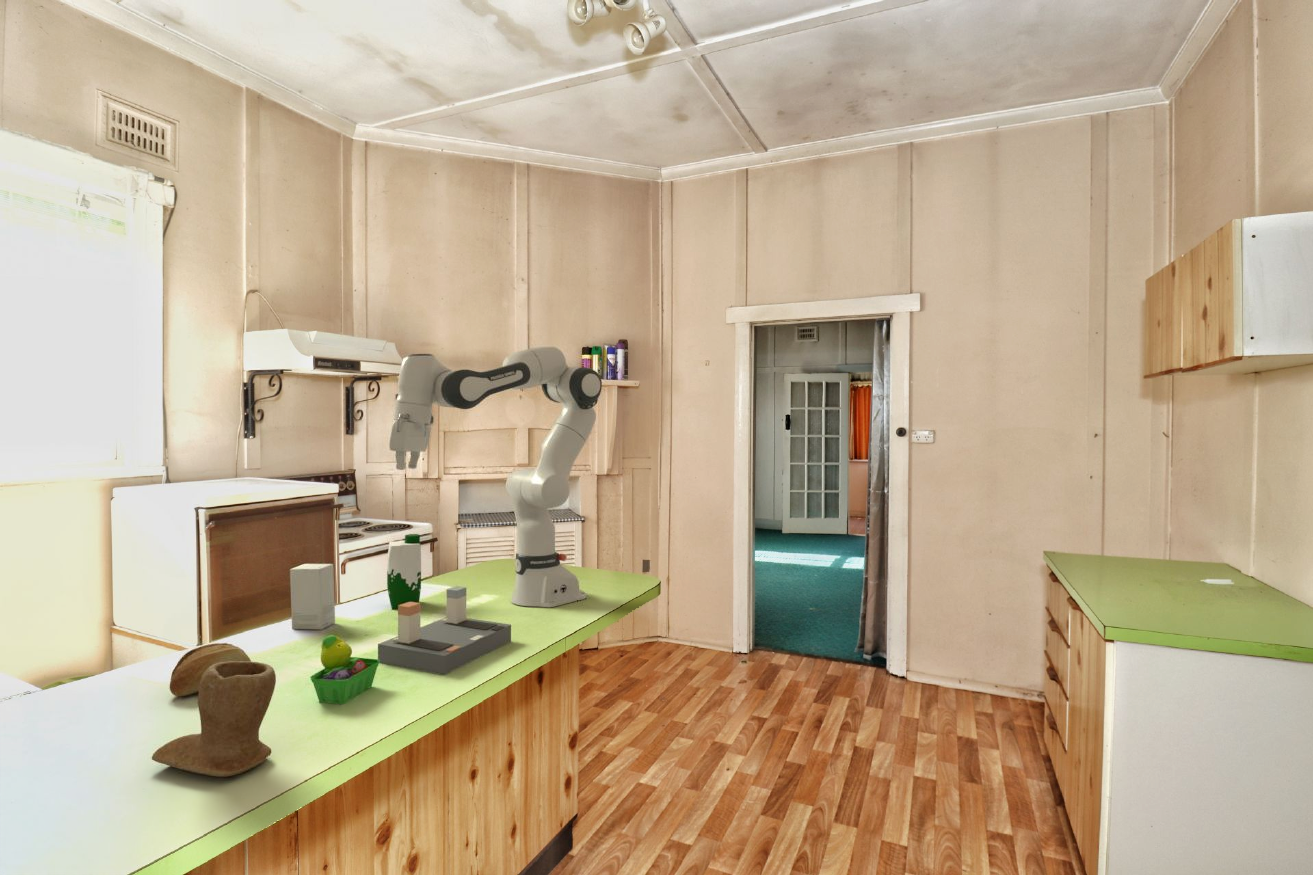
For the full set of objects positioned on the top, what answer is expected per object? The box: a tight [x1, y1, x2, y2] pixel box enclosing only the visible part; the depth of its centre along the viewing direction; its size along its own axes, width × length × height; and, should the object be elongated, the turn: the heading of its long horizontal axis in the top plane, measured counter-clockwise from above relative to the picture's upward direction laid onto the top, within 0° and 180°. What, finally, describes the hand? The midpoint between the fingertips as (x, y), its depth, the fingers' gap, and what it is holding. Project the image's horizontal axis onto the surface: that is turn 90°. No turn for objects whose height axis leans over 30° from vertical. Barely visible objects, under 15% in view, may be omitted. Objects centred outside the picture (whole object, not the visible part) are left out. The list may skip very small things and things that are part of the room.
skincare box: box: [289, 563, 336, 631], centre depth 172 cm, size 8×7×16 cm
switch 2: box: [445, 585, 467, 624], centre depth 163 cm, size 4×3×8 cm
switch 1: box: [397, 602, 422, 644], centre depth 149 cm, size 4×3×8 cm
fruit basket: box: [310, 634, 380, 705], centre depth 130 cm, size 11×9×11 cm
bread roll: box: [169, 642, 252, 697], centre depth 133 cm, size 10×15×8 cm, turn 157°
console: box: [377, 617, 512, 676], centre depth 155 cm, size 24×18×5 cm
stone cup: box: [151, 661, 277, 778], centre depth 103 cm, size 15×12×15 cm
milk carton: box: [386, 533, 422, 610], centre depth 192 cm, size 9×9×20 cm
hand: (406, 469), depth 172 cm, fingers open, 8 cm apart
